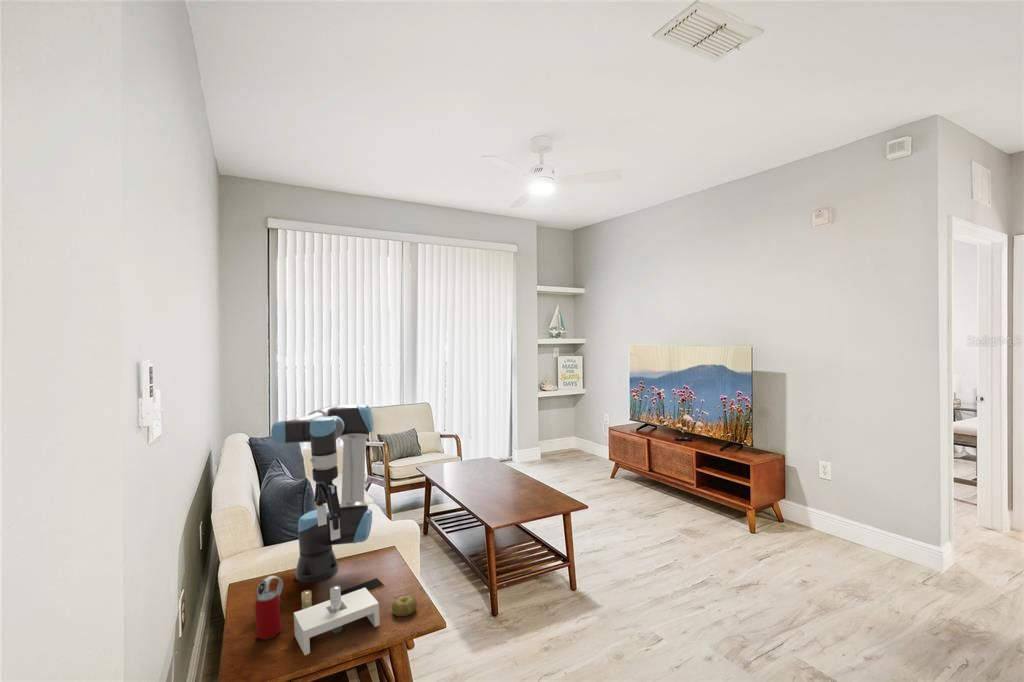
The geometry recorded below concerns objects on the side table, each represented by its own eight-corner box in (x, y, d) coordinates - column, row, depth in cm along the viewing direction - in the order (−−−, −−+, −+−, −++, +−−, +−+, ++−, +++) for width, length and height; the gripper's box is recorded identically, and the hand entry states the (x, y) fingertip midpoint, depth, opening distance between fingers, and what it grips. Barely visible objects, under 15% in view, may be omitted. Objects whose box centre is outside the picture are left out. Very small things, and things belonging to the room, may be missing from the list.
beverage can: (281, 625, 151) (279, 587, 151) (281, 636, 145) (279, 597, 145) (256, 632, 148) (254, 593, 148) (256, 644, 142) (254, 603, 142)
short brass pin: (301, 613, 157) (300, 592, 157) (311, 609, 159) (309, 588, 159) (303, 617, 155) (302, 595, 155) (313, 613, 157) (312, 592, 157)
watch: (254, 614, 158) (253, 581, 158) (278, 602, 165) (276, 570, 165) (263, 619, 155) (261, 585, 155) (287, 607, 162) (285, 574, 161)
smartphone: (331, 596, 168) (331, 593, 168) (377, 579, 178) (377, 577, 178) (338, 605, 162) (338, 602, 162) (385, 587, 172) (385, 585, 172)
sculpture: (402, 590, 161) (421, 596, 158) (403, 602, 161) (422, 608, 158) (386, 603, 154) (405, 608, 151) (386, 615, 154) (405, 621, 151)
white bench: (294, 635, 146) (293, 612, 145) (366, 608, 159) (365, 587, 159) (304, 655, 136) (303, 631, 136) (379, 625, 149) (378, 602, 149)
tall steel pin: (330, 629, 148) (328, 587, 148) (340, 625, 150) (338, 584, 149) (333, 634, 145) (331, 591, 145) (343, 630, 147) (341, 588, 147)
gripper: (302, 460, 161) (305, 522, 162) (324, 478, 141) (328, 549, 142) (325, 455, 165) (328, 516, 166) (350, 472, 145) (354, 541, 147)
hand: (328, 531), depth 154 cm, fingers open, 13 cm apart
